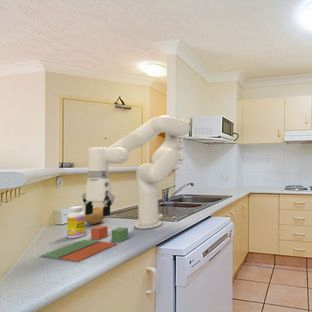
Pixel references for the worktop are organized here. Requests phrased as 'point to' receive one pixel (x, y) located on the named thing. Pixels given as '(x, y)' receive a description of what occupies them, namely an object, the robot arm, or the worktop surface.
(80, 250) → the sorting mat
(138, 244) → the worktop surface
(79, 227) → the supplement bottle
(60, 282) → the worktop surface
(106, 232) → the terracotta block
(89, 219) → the potato
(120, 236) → the sage block
